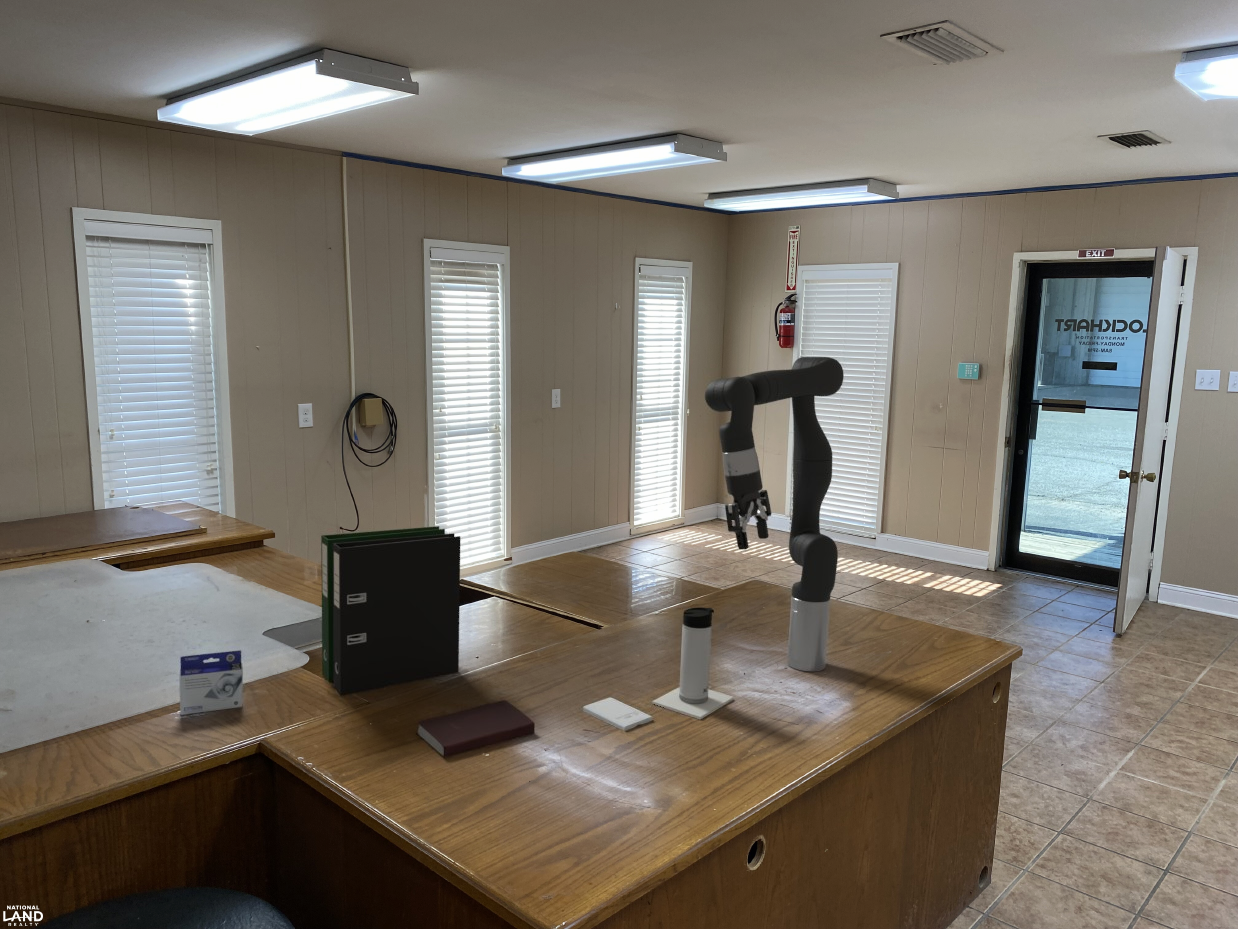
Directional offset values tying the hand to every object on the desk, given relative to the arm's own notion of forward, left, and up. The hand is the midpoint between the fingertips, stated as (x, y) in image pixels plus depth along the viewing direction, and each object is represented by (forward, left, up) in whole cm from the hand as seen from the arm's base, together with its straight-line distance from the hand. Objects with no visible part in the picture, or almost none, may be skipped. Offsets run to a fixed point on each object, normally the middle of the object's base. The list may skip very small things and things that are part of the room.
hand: (754, 543), depth 184 cm
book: (+52, -31, -35) cm, 70 cm away
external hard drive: (+27, -15, -35) cm, 47 cm away
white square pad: (+10, -7, -35) cm, 37 cm away
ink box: (+79, -78, -35) cm, 116 cm away
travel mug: (+10, -7, -34) cm, 36 cm away
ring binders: (+43, -67, -35) cm, 87 cm away
